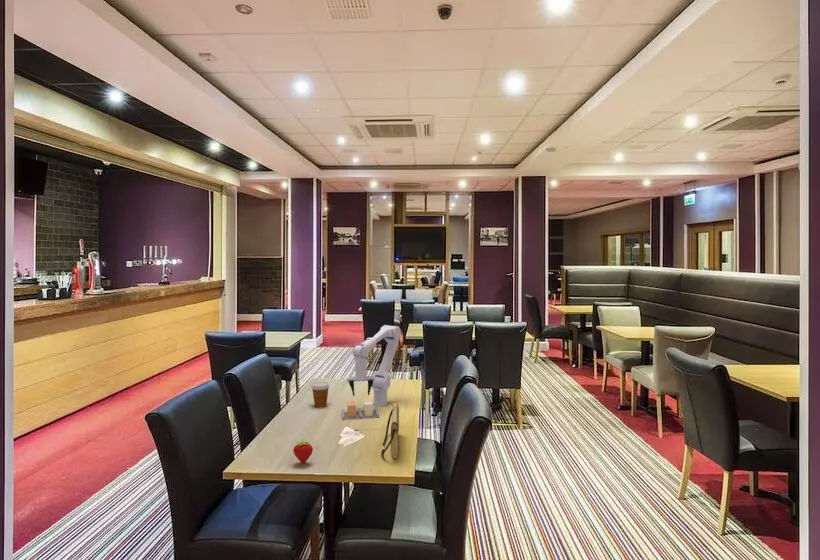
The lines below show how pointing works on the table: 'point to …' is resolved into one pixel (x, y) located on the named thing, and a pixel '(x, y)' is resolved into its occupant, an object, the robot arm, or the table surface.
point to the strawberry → (302, 451)
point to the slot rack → (360, 415)
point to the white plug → (368, 408)
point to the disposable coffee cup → (320, 393)
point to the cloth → (349, 436)
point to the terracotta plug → (351, 409)
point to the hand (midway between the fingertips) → (361, 395)
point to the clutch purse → (393, 431)
